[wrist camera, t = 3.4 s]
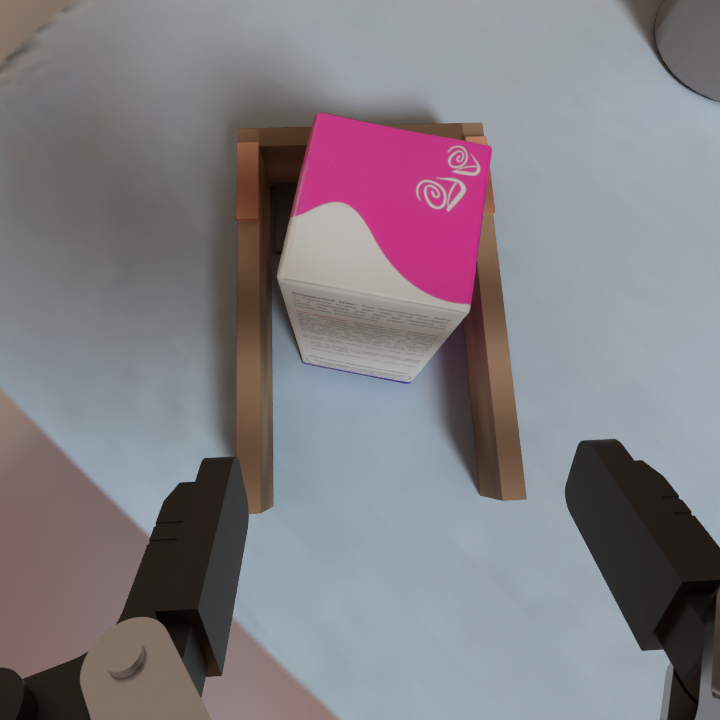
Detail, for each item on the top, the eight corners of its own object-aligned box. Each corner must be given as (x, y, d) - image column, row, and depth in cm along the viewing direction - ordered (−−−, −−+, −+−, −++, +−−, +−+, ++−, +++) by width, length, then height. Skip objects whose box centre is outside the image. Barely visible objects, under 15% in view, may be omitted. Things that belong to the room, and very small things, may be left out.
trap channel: (252, 171, 27) (236, 124, 23) (465, 165, 27) (483, 118, 23) (252, 507, 23) (233, 515, 19) (500, 494, 23) (529, 500, 20)
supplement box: (414, 386, 24) (471, 319, 13) (300, 364, 24) (260, 279, 13) (432, 281, 26) (497, 138, 14) (323, 261, 26) (305, 104, 15)
